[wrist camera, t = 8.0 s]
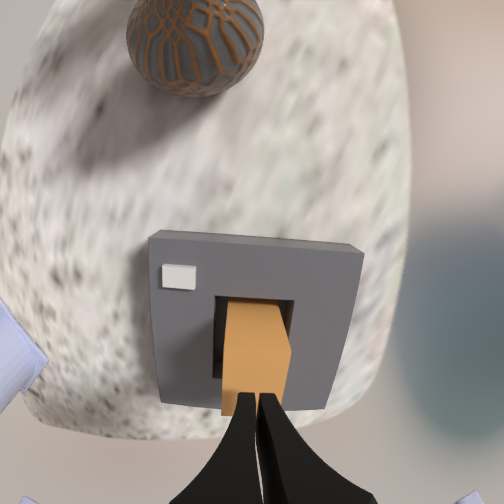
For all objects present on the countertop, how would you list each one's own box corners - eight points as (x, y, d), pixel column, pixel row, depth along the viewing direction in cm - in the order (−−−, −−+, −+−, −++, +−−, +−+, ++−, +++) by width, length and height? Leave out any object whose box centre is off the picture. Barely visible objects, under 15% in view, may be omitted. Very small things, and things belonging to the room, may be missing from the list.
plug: (268, 356, 19) (277, 417, 13) (225, 354, 19) (221, 415, 13) (276, 298, 18) (291, 351, 12) (228, 295, 18) (223, 348, 12)
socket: (317, 389, 20) (325, 412, 18) (167, 382, 20) (159, 405, 17) (349, 244, 17) (367, 255, 15) (160, 229, 17) (146, 239, 14)
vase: (131, 82, 14) (60, 25, 6) (194, 8, 13) (171, -75, 5) (216, 130, 15) (192, 79, 7) (280, 50, 14) (309, -35, 6)
